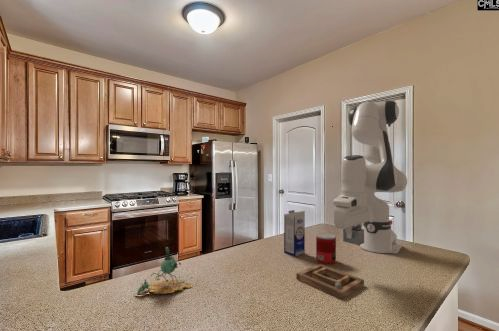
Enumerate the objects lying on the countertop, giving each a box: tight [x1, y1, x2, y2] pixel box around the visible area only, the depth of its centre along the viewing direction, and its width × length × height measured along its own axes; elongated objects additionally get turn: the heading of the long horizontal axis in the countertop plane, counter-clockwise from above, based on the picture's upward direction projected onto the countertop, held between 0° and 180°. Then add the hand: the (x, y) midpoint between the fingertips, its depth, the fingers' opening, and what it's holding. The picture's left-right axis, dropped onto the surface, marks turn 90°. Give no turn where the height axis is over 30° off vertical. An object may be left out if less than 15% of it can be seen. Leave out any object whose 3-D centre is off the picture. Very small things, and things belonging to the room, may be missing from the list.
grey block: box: [342, 225, 364, 246], centre depth 91 cm, size 4×6×6 cm, turn 39°
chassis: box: [295, 263, 365, 300], centre depth 86 cm, size 14×18×3 cm
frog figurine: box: [135, 246, 193, 296], centre depth 81 cm, size 10×18×15 cm, turn 105°
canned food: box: [315, 232, 337, 265], centre depth 105 cm, size 8×8×11 cm
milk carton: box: [283, 209, 306, 258], centre depth 115 cm, size 7×7×20 cm
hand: (353, 236), depth 91 cm, fingers closed on grey block, 4 cm apart
